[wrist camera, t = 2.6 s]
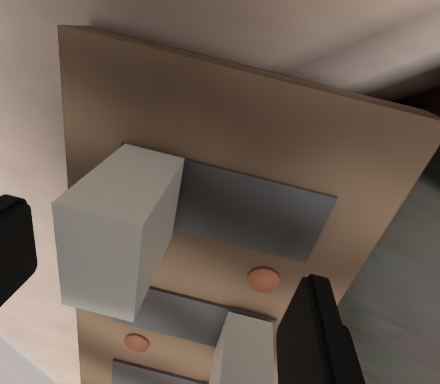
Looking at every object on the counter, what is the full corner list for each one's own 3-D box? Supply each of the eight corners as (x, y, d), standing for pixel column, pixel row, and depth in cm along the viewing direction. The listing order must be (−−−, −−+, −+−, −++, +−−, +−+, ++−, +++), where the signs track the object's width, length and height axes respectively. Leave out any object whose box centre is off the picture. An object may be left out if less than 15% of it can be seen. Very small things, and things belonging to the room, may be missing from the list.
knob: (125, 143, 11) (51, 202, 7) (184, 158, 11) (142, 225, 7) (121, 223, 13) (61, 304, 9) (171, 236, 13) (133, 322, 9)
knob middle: (228, 311, 15) (216, 408, 11) (272, 322, 15) (275, 423, 11) (213, 353, 17) (198, 448, 13) (252, 363, 17) (249, 461, 13)
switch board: (88, 26, 12) (53, 24, 10) (424, 110, 12) (456, 125, 10) (94, 374, 25) (80, 402, 23) (249, 414, 25) (248, 446, 23)
